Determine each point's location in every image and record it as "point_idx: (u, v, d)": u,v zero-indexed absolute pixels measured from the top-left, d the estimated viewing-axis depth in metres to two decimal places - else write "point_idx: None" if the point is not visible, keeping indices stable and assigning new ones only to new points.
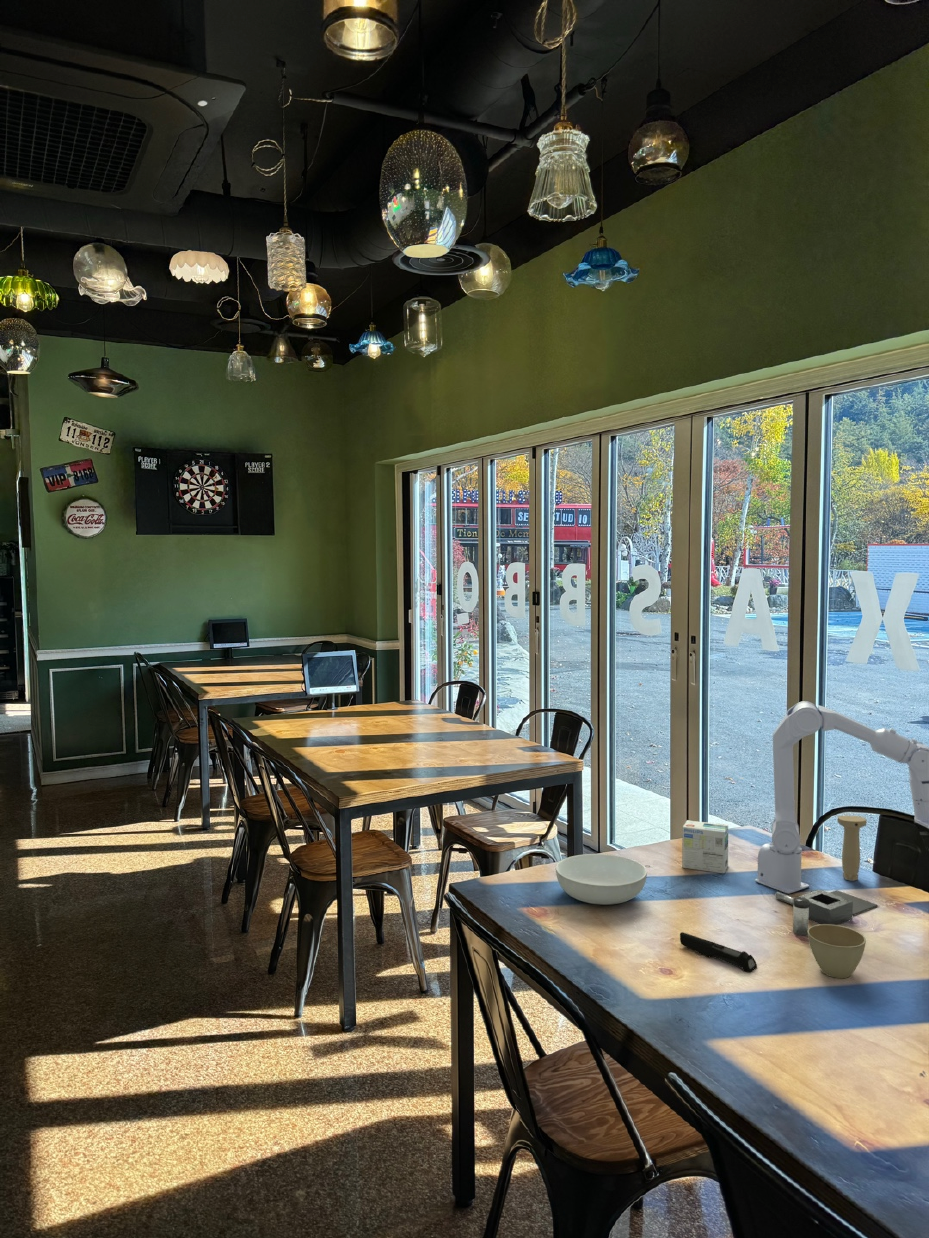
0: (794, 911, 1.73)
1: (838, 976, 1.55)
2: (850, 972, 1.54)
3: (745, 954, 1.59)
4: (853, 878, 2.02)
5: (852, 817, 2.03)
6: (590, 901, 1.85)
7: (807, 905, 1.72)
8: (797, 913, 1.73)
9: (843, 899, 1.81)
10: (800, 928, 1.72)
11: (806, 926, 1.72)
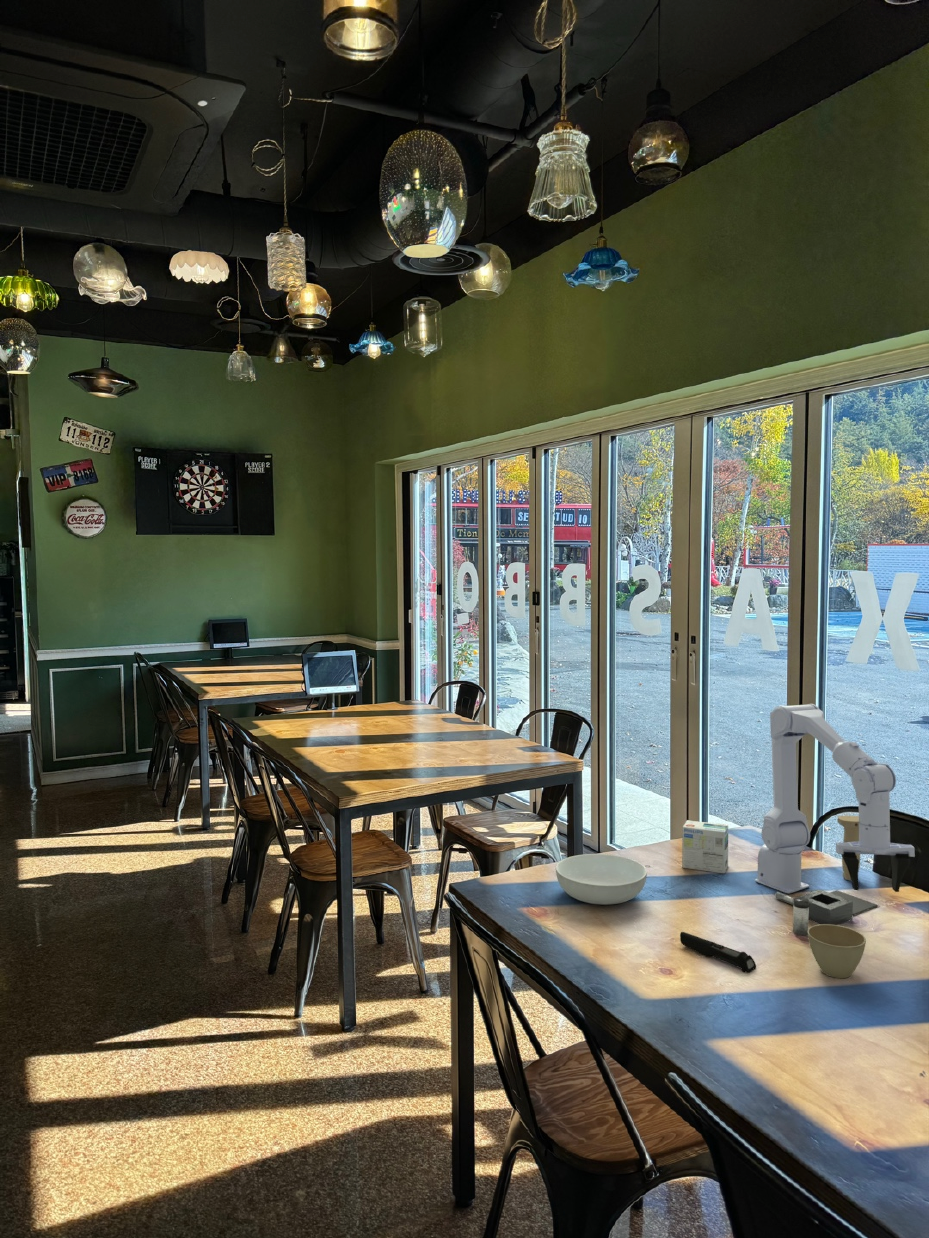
0: (794, 911, 1.73)
1: (838, 976, 1.55)
2: (850, 972, 1.54)
3: (744, 954, 1.59)
4: None
5: (852, 817, 2.03)
6: (590, 901, 1.85)
7: (807, 905, 1.72)
8: (797, 913, 1.73)
9: (843, 899, 1.81)
10: (800, 928, 1.72)
11: (806, 926, 1.72)
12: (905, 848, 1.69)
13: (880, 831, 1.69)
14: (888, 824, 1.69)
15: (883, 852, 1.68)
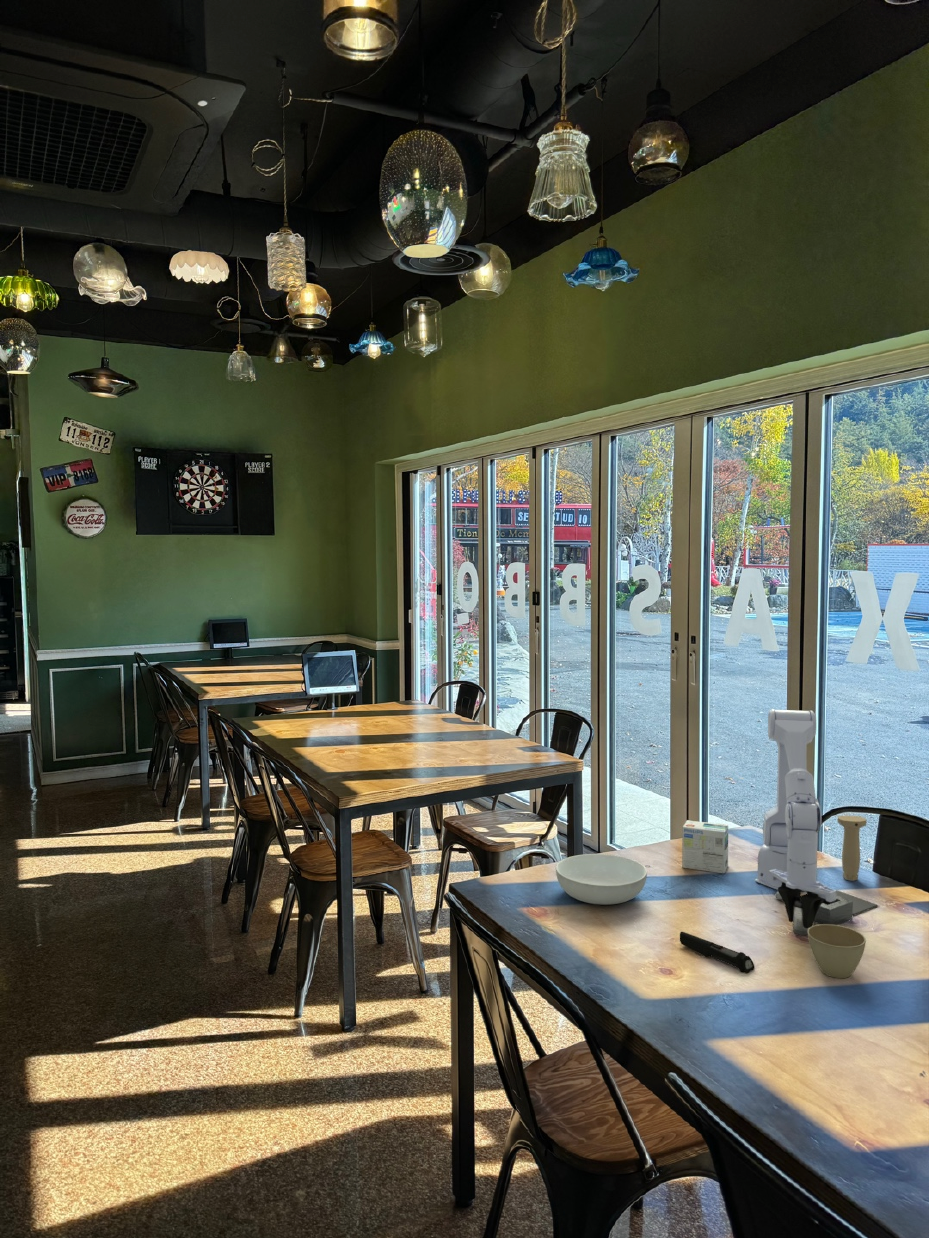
0: (794, 911, 1.73)
1: (838, 976, 1.55)
2: (850, 972, 1.54)
3: (742, 955, 1.59)
4: (853, 878, 2.02)
5: (852, 817, 2.03)
6: (590, 901, 1.85)
7: None
8: (797, 913, 1.73)
9: (843, 899, 1.81)
10: (800, 928, 1.72)
11: None
12: (821, 891, 1.68)
13: (795, 867, 1.71)
14: (809, 863, 1.70)
15: (791, 887, 1.71)
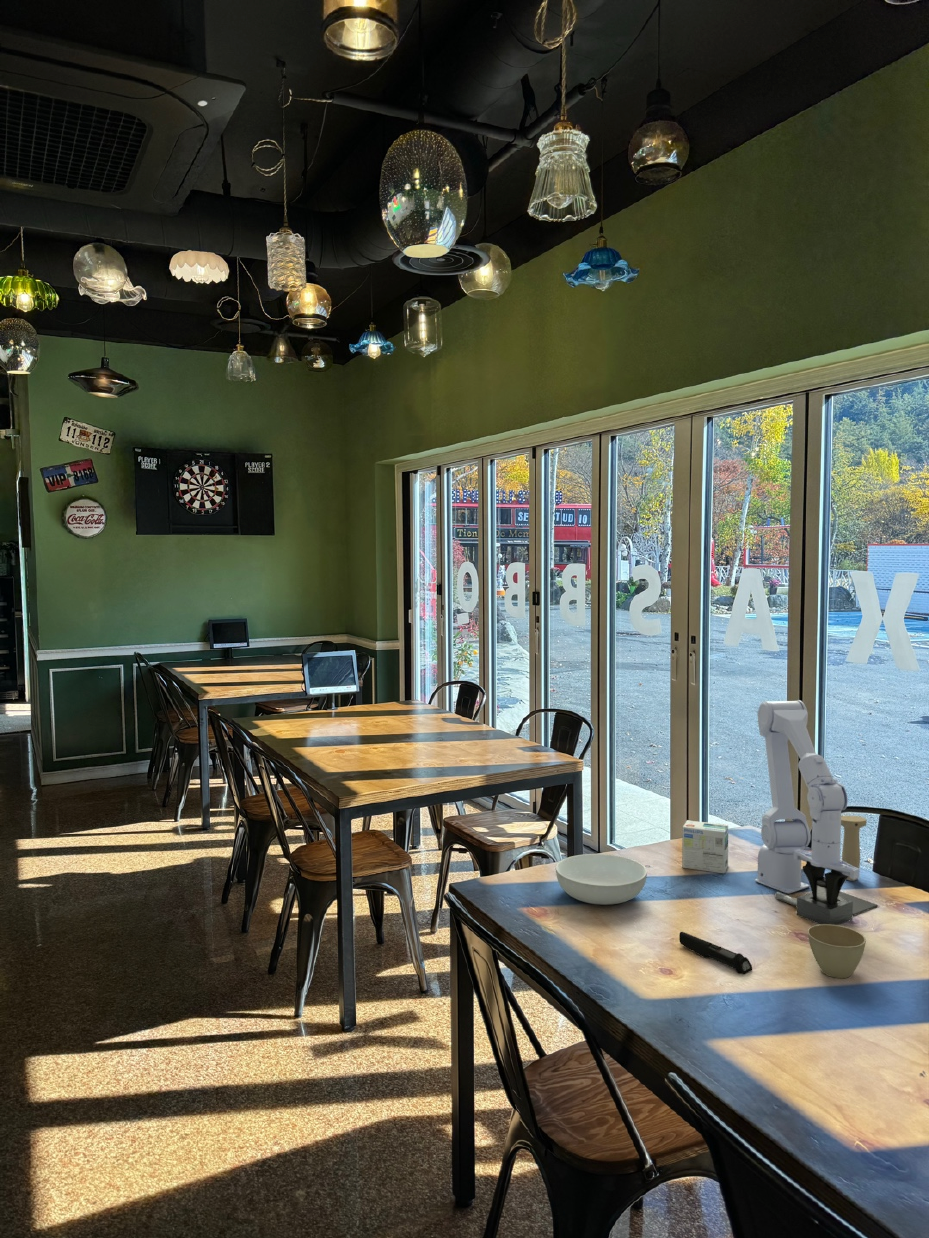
0: (817, 890, 1.81)
1: (838, 976, 1.55)
2: (850, 972, 1.54)
3: (740, 956, 1.58)
4: None
5: (852, 817, 2.03)
6: (590, 901, 1.85)
7: None
8: (820, 892, 1.80)
9: (843, 899, 1.81)
10: None
11: None
12: (845, 869, 1.75)
13: (819, 846, 1.79)
14: (837, 841, 1.78)
15: (816, 865, 1.78)
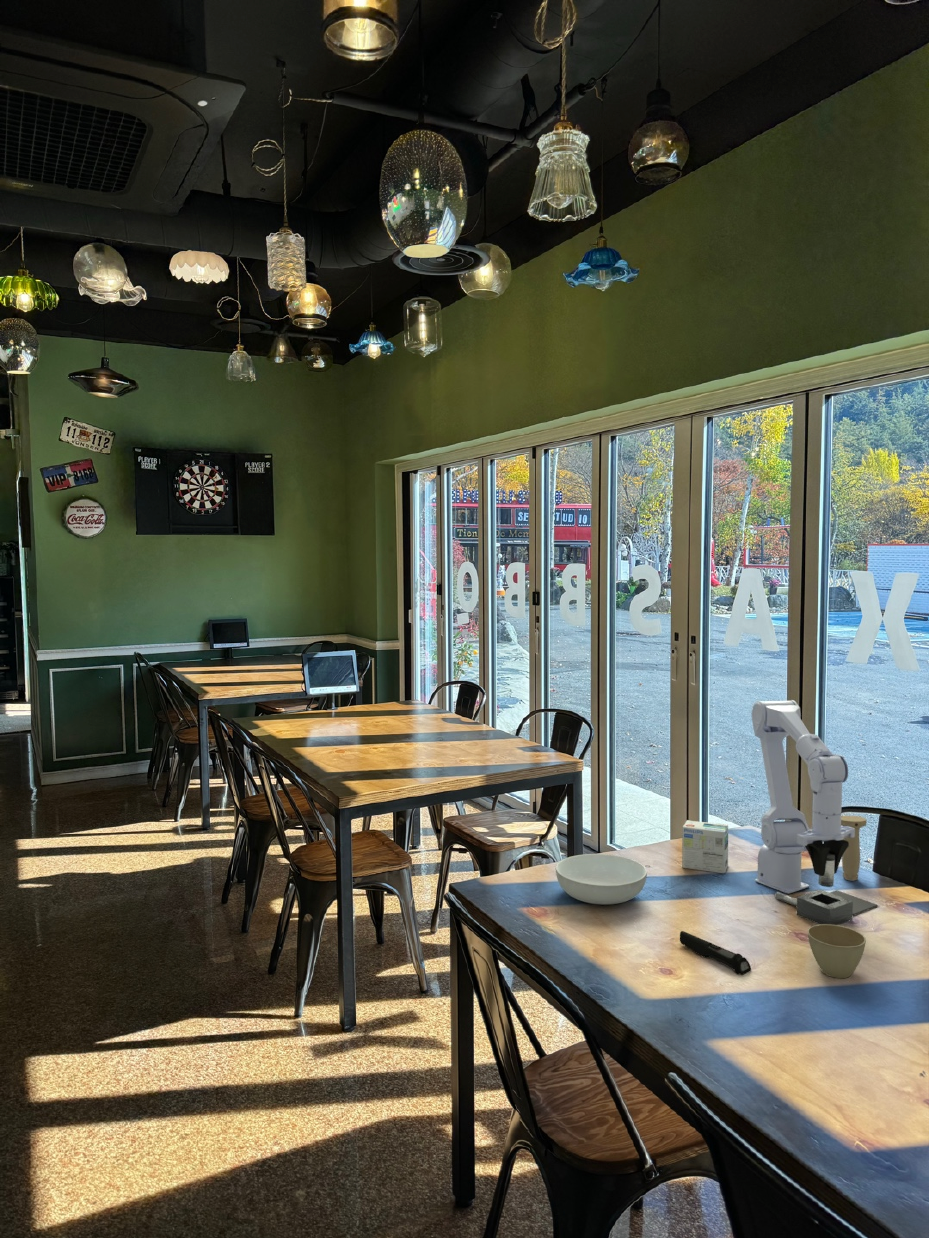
0: (830, 865, 1.79)
1: (838, 976, 1.55)
2: (850, 972, 1.54)
3: (739, 956, 1.58)
4: (853, 878, 2.02)
5: (852, 817, 2.03)
6: (590, 901, 1.85)
7: None
8: (833, 865, 1.79)
9: (843, 899, 1.81)
10: (833, 878, 1.80)
11: None
12: (850, 831, 1.81)
13: (838, 818, 1.78)
14: (838, 813, 1.77)
15: (843, 838, 1.77)
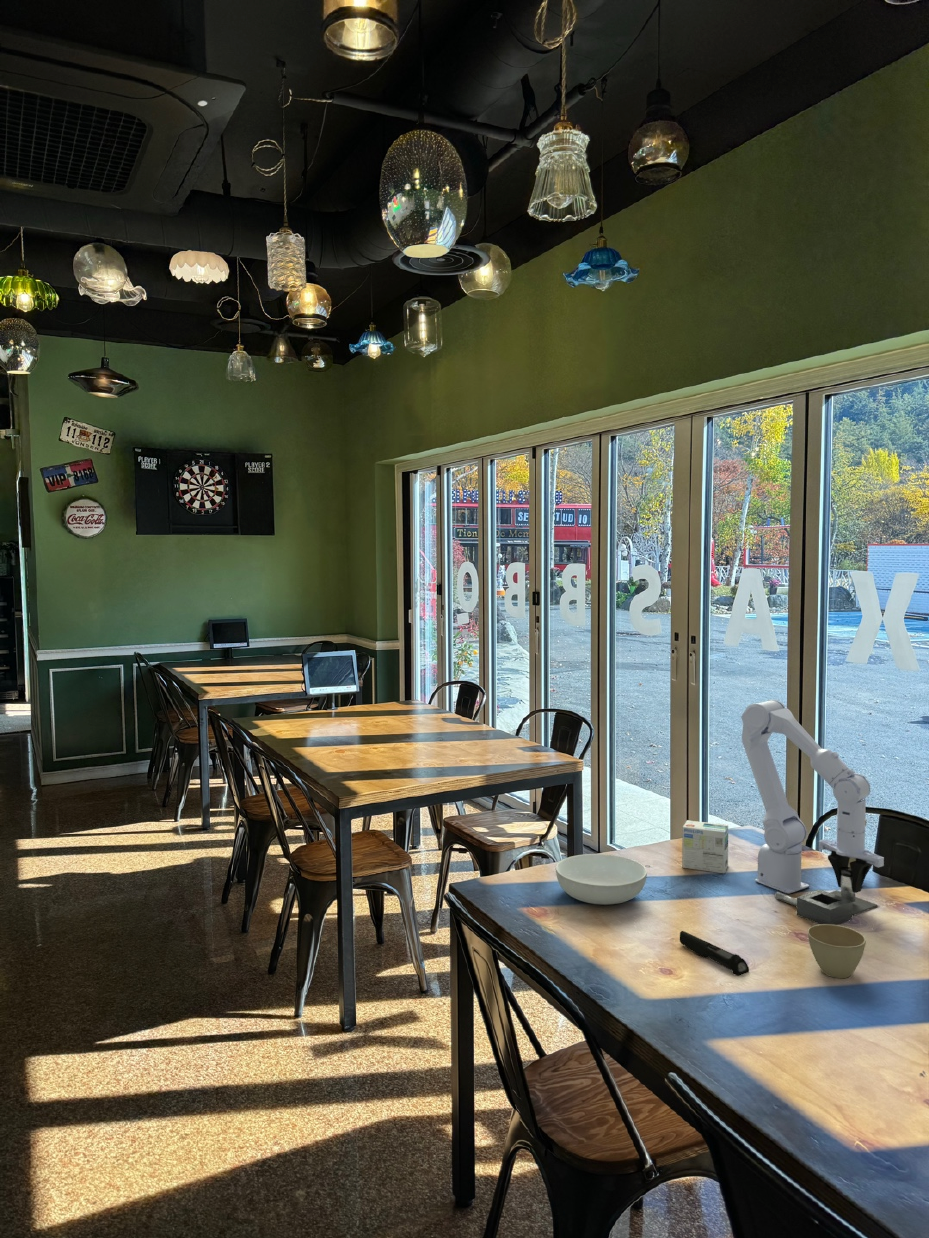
0: (842, 880, 1.87)
1: (838, 976, 1.55)
2: (850, 972, 1.54)
3: (737, 957, 1.58)
4: None
5: None
6: (590, 901, 1.85)
7: None
8: (844, 881, 1.86)
9: (843, 899, 1.81)
10: (848, 895, 1.86)
11: (853, 893, 1.86)
12: (870, 858, 1.82)
13: (845, 836, 1.85)
14: (864, 829, 1.86)
15: (842, 854, 1.84)
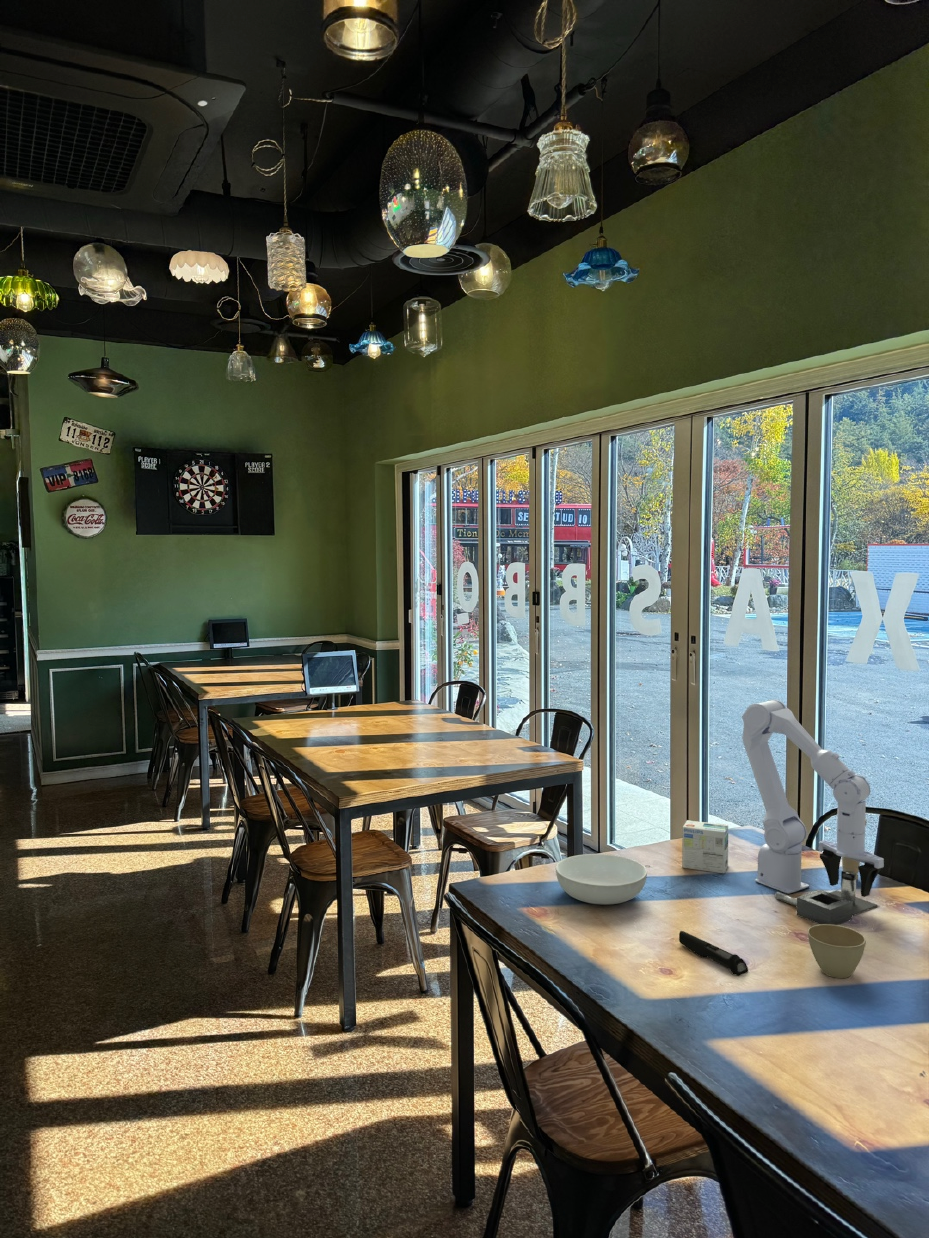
0: (842, 883, 1.87)
1: (838, 976, 1.55)
2: (850, 972, 1.54)
3: (736, 957, 1.58)
4: None
5: None
6: (590, 901, 1.85)
7: (854, 877, 1.86)
8: (844, 884, 1.87)
9: (843, 899, 1.81)
10: (848, 899, 1.86)
11: (853, 897, 1.86)
12: (870, 859, 1.82)
13: (844, 837, 1.85)
14: (864, 830, 1.86)
15: (842, 855, 1.85)
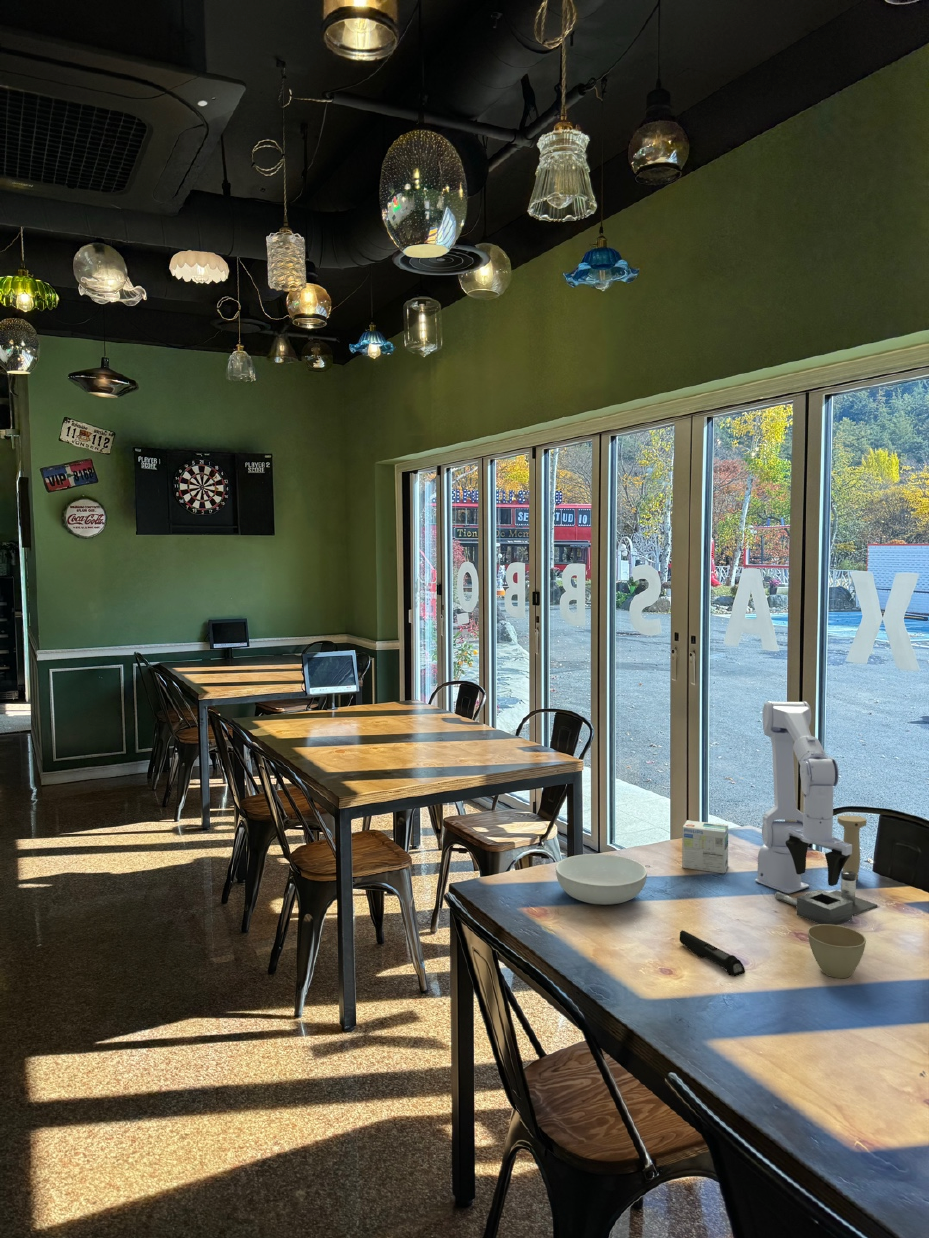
0: (842, 883, 1.87)
1: (838, 976, 1.55)
2: (850, 972, 1.54)
3: (733, 958, 1.58)
4: None
5: (852, 817, 2.03)
6: (590, 901, 1.85)
7: (854, 878, 1.86)
8: (845, 885, 1.86)
9: (843, 899, 1.81)
10: (848, 899, 1.86)
11: (853, 897, 1.86)
12: (837, 845, 1.70)
13: (811, 822, 1.73)
14: (827, 817, 1.72)
15: (808, 842, 1.73)
